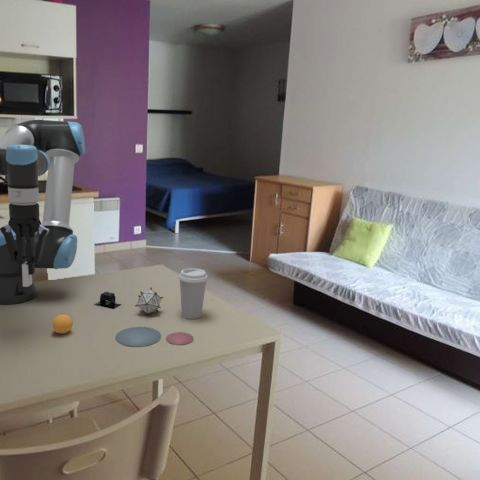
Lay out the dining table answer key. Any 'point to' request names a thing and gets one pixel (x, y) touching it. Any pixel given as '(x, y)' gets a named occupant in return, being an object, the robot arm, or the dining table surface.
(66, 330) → the ball
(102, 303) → the black boxy piece
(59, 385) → the dining table surface
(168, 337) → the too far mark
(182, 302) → the coffee cup
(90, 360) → the dining table surface
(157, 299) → the game die
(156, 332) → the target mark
